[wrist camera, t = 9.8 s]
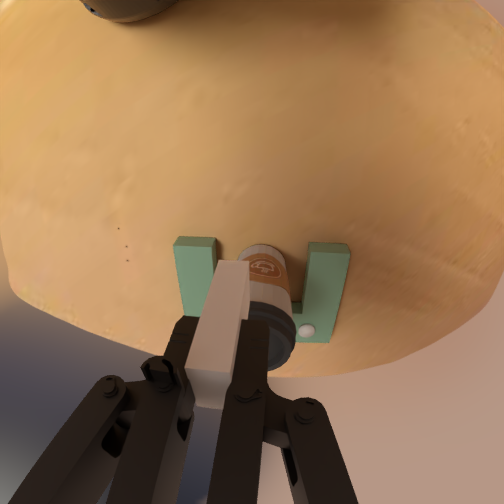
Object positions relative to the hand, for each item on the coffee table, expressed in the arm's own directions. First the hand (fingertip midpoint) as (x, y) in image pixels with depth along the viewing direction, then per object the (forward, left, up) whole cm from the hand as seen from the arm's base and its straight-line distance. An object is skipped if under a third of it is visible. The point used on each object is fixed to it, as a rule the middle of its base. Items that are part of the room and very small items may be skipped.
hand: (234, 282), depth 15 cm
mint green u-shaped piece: (+17, 0, -21) cm, 27 cm away
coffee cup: (+12, 0, -21) cm, 24 cm away
